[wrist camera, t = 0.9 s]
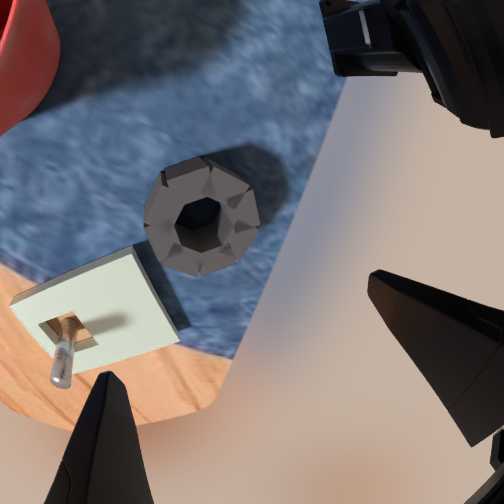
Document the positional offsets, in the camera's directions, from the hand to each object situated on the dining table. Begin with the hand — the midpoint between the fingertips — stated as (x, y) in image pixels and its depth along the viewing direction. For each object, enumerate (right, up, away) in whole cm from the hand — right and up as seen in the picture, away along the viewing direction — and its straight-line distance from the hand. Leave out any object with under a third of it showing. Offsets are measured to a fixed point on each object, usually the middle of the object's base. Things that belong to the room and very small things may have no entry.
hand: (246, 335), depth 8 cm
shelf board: (-13, -3, +11) cm, 17 cm away
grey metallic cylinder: (-15, -4, +11) cm, 19 cm away
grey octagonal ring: (-4, +6, +10) cm, 12 cm away
